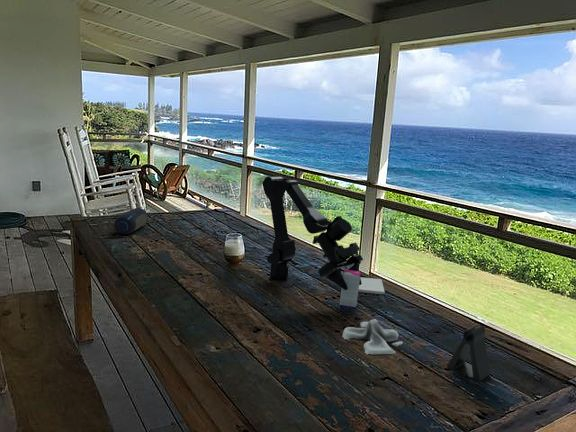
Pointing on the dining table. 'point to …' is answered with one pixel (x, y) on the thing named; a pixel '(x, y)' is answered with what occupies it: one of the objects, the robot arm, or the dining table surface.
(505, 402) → the dining table surface
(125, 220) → the portable speaker
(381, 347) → the cloth
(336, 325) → the dining table surface
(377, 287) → the mat
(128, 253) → the dining table surface
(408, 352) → the dining table surface
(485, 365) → the phone stand
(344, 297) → the supplement box
